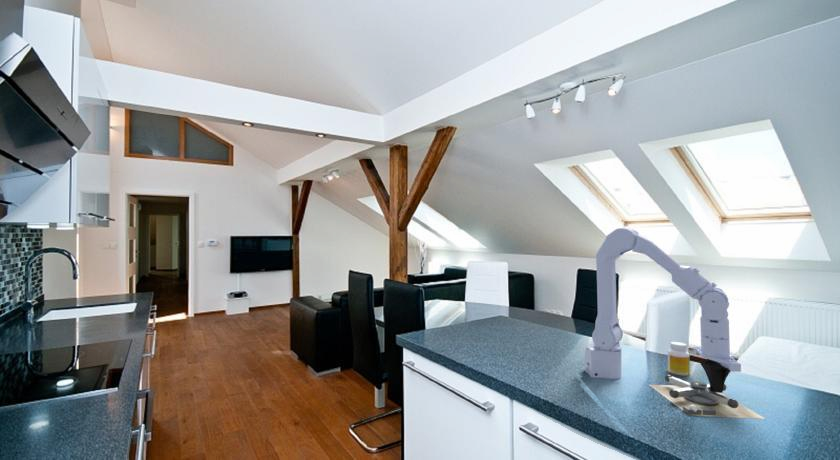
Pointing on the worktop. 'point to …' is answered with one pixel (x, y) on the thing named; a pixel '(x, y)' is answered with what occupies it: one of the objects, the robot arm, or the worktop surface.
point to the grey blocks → (699, 410)
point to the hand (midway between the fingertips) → (716, 391)
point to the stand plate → (720, 408)
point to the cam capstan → (698, 393)
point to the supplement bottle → (678, 359)
